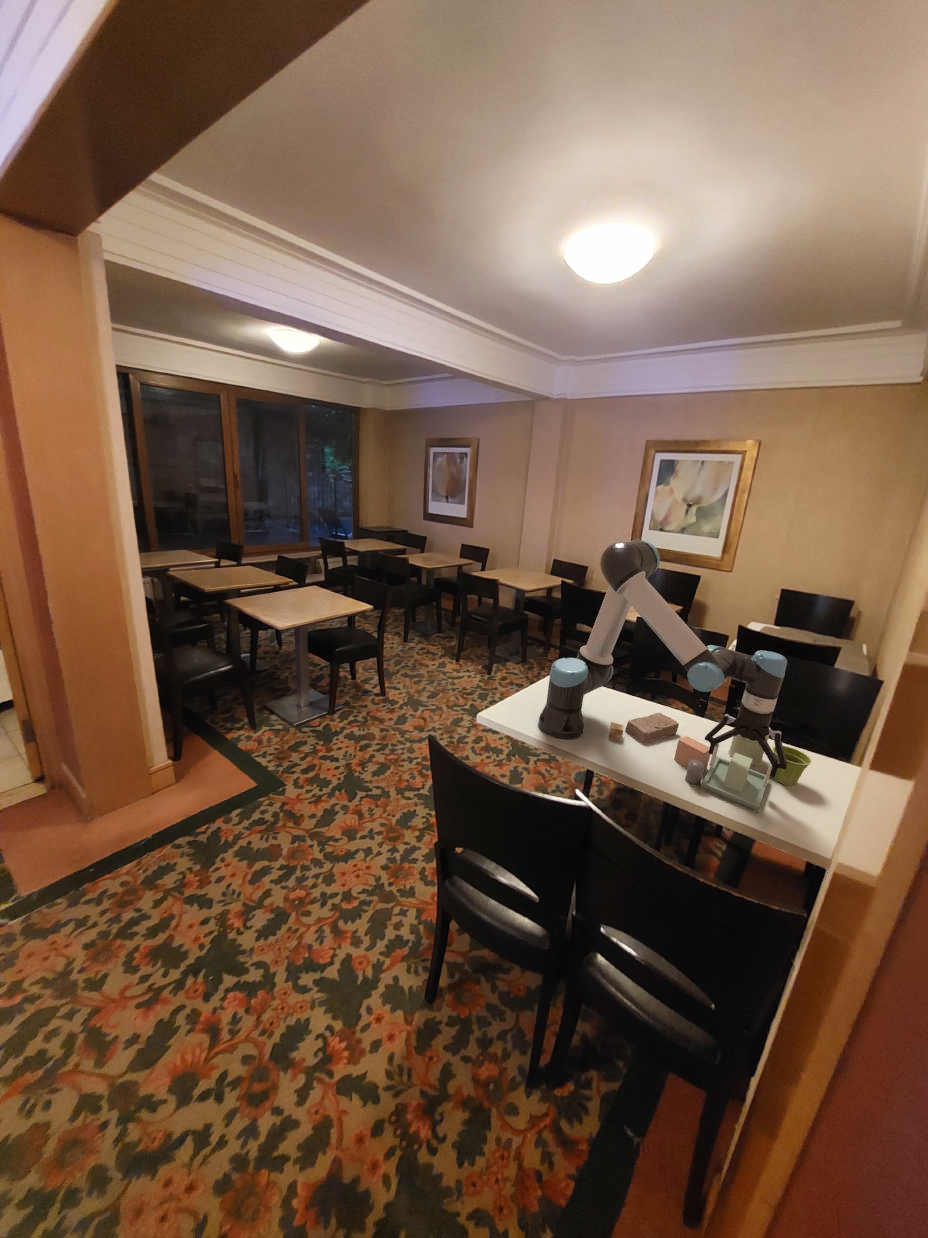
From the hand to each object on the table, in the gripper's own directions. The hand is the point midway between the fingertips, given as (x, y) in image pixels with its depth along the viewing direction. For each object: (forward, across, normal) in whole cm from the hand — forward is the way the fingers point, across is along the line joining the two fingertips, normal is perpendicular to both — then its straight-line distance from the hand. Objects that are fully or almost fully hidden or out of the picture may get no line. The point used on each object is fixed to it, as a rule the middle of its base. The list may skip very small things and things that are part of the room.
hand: (737, 774), depth 131 cm
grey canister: (+4, -10, -7) cm, 12 cm away
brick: (+4, -28, +12) cm, 30 cm away
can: (+4, 0, +19) cm, 19 cm away
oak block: (+4, -36, 0) cm, 36 cm away
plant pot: (+4, +10, +14) cm, 18 cm away
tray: (+4, 0, 0) cm, 4 cm away
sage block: (+3, 0, 0) cm, 3 cm away
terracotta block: (+4, -12, +2) cm, 13 cm away
